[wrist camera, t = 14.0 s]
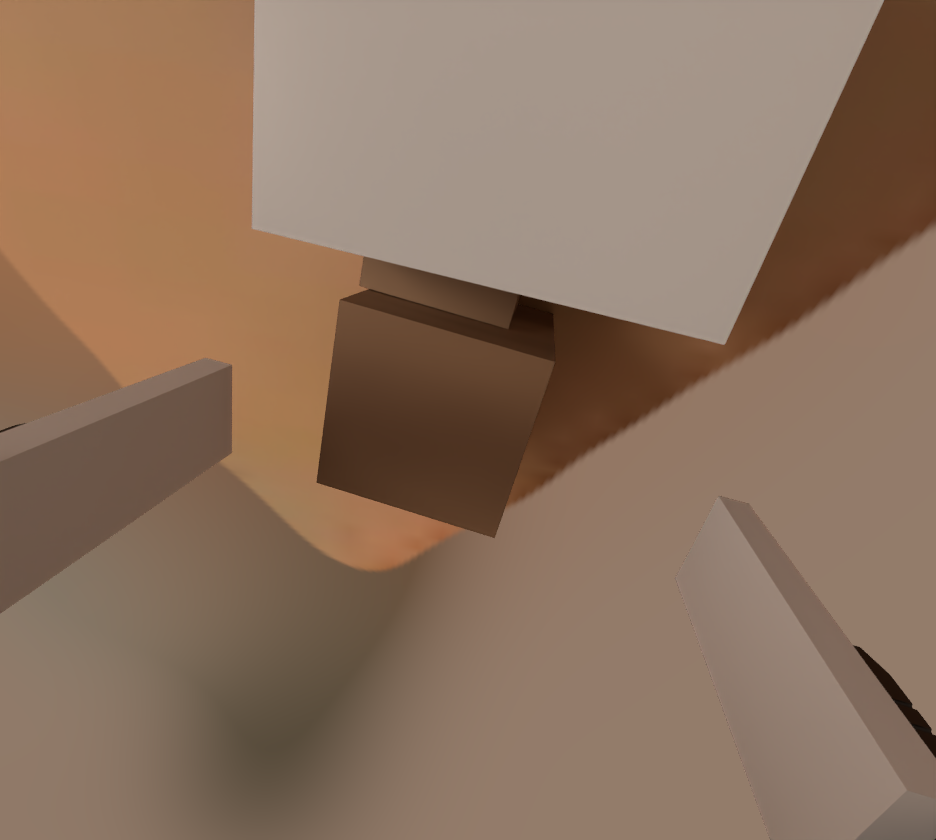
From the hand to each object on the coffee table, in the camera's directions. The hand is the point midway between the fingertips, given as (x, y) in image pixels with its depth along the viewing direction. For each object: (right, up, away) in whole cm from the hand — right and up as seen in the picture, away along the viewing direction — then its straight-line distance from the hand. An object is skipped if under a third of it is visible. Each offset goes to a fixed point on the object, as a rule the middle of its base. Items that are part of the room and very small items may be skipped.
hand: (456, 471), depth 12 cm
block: (0, +3, +4) cm, 6 cm away
